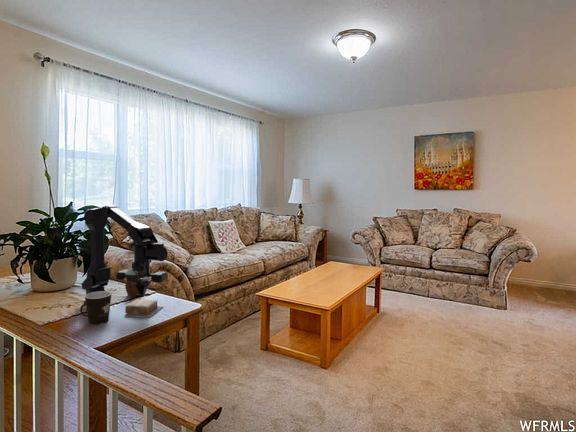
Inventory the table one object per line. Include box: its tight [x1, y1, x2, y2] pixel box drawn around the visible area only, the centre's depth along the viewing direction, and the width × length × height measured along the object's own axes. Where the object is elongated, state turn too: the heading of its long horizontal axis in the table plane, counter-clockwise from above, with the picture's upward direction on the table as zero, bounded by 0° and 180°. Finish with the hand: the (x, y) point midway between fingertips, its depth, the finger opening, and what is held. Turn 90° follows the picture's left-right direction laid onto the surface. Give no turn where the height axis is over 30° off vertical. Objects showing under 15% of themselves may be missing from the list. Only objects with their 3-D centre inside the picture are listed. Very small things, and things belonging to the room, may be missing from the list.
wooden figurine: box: [124, 280, 140, 297], centre depth 157 cm, size 7×6×15 cm
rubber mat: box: [124, 305, 164, 319], centre depth 138 cm, size 10×11×1 cm
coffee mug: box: [79, 290, 112, 326], centre depth 126 cm, size 12×9×10 cm
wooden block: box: [124, 298, 158, 315], centre depth 138 cm, size 3×8×9 cm
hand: (142, 296), depth 138 cm, fingers closed
